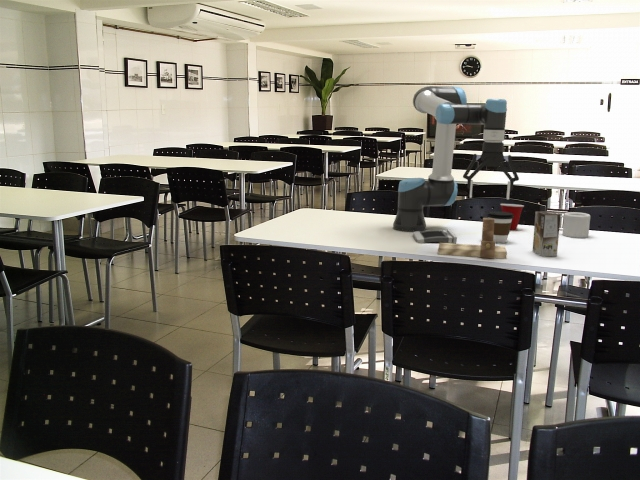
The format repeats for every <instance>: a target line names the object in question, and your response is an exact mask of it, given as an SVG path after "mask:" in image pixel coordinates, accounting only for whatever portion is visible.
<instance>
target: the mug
mask: <svg viewBox="0 0 640 480" xmlns="http://www.w3.org/2000/svg"><path fill="white" fill-rule="evenodd" d="M560 218H563V226H562V228H559V232H560V231H561V232H562V235H563V236H564V237H567V238H573V239H574V238H575V239H585V238H588V237H589V234H590V233H589V232H590V224H591V223H590V222H591V215H590V214H589V213H586V212H576V211H575V212H574V211H573V212H572V211H570V212H569V211H568V212H565V213H564V215H561V216H560Z"/></svg>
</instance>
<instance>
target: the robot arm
mask: <svg viewBox="0 0 640 480" xmlns="http://www.w3.org/2000/svg"><path fill="white" fill-rule="evenodd" d="M467 101H468V100H467V94H466V92H465V90H464V88H462V87H460V86H454V85H453V86H452V85H451V86H447V85H446V86H444V85H443V86H441V85H439V86H436V85H435V86H433V85H429V86H428V85H427V86H423V87H421V88H420V89H419V90H417V91H416V92H415V93H414V95H413V98H412V105H413V107H414V109H415V110H416V111H418V112H419V113H421V114H429V115H431V116H433V118H434V119H435V120H436V129H435V139H434V149H433V159H432V161H433V162H432V170H431V173H430V175H428V178H427V179H428V180H425V178H423V177H411V178H410V177H409V178H404V179H402V180H400V181H399V184H398V189H397V191H398V192H397V194H398V196H397V213H396V216H395V218H394V221H393V223H392V225H393V227H392V228H393V229H394V230H397V231H402V232H417V231H419V232H421V231H427V223H426V220H425V219H426V218H425V215H424V207H446V206H447V207H448V206H451V205H453V204H454V203H455V202H456V199H457V196H458V183H457V182H456V181H455V177H454V176H453V175H452V171H453V170H452V169H453V160H454V159H453V157H454V151H455V150H454V149H455V148H454V147H455V140H456V132H457V131H456V130H457V125H482V126H483V136H482V137H483V138H482V139H483V143H482V147H481V148H482V150H481V151H482V153H481V154H476V153H474V154H473V156H472V160H471V162H470V163H469V165H468V167H467V168H466V170H465V172H464V174H463V175H462V178H463V179H465V180H466V181H467V184H466V185H467V186H466V188H467V189H468V190H469V198H470V199H472V198H473V185H474V180H473V178H475V176H476V175H477V174H478V173H479V172H480V171H481V170H482V169H483V168H484V167H488V168H489V167H490V168H491V167H493V168H496V167H498V166H499V168H500V170H502V172H503V173H504V175H505V176H506V178H507V179H508V181H507V188H506V189H507V190H506V200H510V194H511V193H510V192H511V191H513V190H514V183H515V182H517V181H519V180H520V178H519V175H518V172H517V171H516V167H515V165H514V164H513V161H512V159H513V158H512V157H513V156H512V155H511V154H508V155H504V144H505V143H504V141H505V133H506V132H505V131H506V122H507V121H506V119H507V111H508V109H507V108H508V107H507V104H508V101H507V100H506V99H504V98H487V99H486V101H485V104H484V103H479V104H477V103H475V104H473V103H468V102H467ZM479 159H480V160H481V161H482V162H481V163H480V164H479V165H478V166H477V167H476V168H475V170H473V172H472V173H470V172H471V170H472V168H473V166H474V165H475V163H476V162H477V161H478V160H479ZM504 160H505V161H506V162H507V163H508V165H509V168H510V169H511V172H512V175H513V176H511V174H510V173H509V171H508V170H507V169H506V167H505V166H504V165H503V164H502V162H503V161H504ZM469 173H470V175H469Z"/></svg>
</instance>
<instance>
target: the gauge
mask: <svg viewBox="0 0 640 480" xmlns="http://www.w3.org/2000/svg"><path fill="white" fill-rule="evenodd" d="M494 222H495V220H494V218H489V217H483V218H482V231H481V232H482V234H481V240H480V245H481V251H480V258H482V259H483V258H484V259H495V258H494V253H495V246H496V242H495V241H493V236H494Z"/></svg>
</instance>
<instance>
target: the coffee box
mask: <svg viewBox="0 0 640 480" xmlns="http://www.w3.org/2000/svg"><path fill="white" fill-rule="evenodd" d="M534 216H535V217H534V227H533V229H534V230H533V239H532V252H533V253H535V254H537V255H540V256H541V257H557V256H558V250H559V249H558V246H559V236H560V230H559V229H560V224H561V217H560V216H562V215H561V214H559V213H557V212H554V211H550V210H548V211H547V210H546V211H545V210H544V211H543V210H541V211H536V210H535V214H534Z"/></svg>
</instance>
